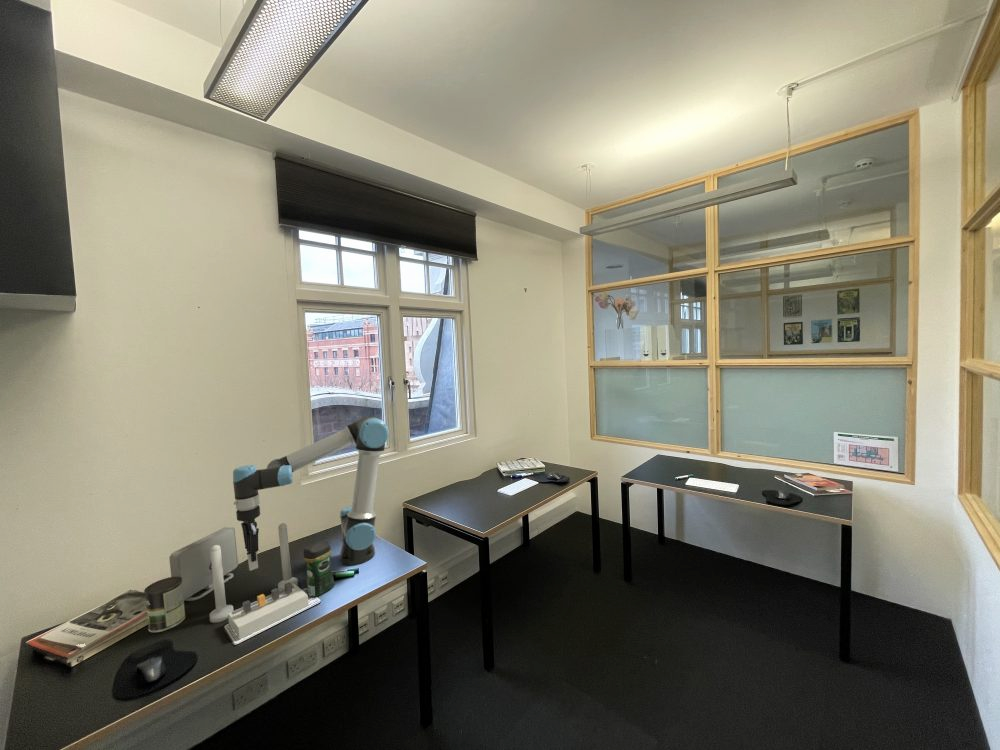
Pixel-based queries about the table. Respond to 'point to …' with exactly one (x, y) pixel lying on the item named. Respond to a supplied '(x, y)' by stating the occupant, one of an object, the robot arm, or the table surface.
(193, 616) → the table surface
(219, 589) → the white peg stand
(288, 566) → the white rod
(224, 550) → the network device
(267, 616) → the breaker panel
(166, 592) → the coffee can
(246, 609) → the breaker paddles
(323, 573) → the coffee jar
